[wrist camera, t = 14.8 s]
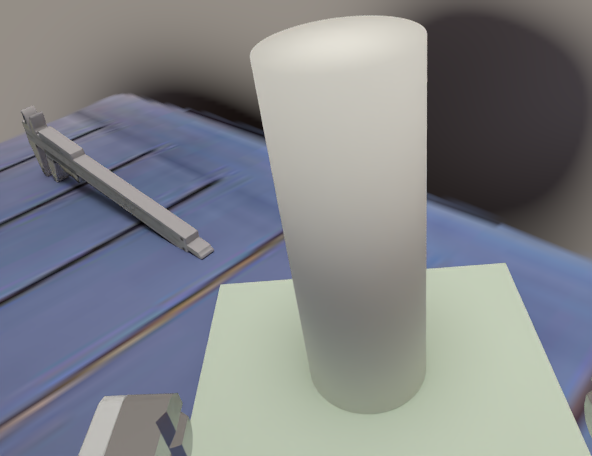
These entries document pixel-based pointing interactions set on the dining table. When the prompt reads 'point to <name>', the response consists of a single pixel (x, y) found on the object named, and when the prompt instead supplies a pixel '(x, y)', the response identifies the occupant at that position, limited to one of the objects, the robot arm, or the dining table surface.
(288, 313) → the mat
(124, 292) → the dining table surface
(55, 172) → the caliper
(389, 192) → the tall white pillar
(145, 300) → the dining table surface
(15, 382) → the dining table surface
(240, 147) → the dining table surface
